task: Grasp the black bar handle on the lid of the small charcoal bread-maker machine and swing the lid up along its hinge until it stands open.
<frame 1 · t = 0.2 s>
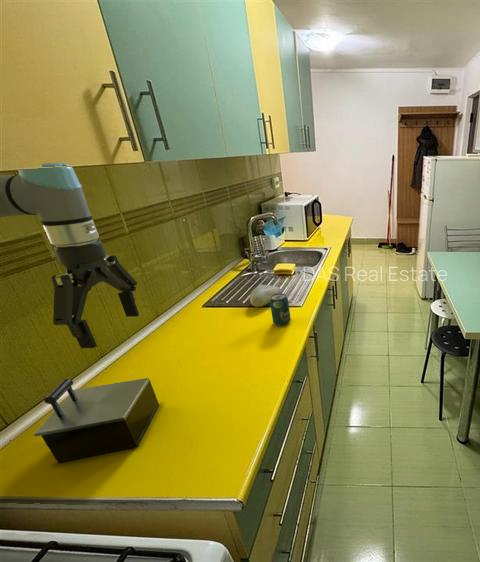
hand: (113, 330, 71), 26 cm above the counter, tool pointing down, fingers open, 13 cm apart
soda can: (282, 323, 124), on the counter
machine lid: (93, 394, 71), point 12 cm above the counter, hinge at 0.0°
rock: (264, 301, 143), on the counter
machine: (114, 431, 76), on the counter
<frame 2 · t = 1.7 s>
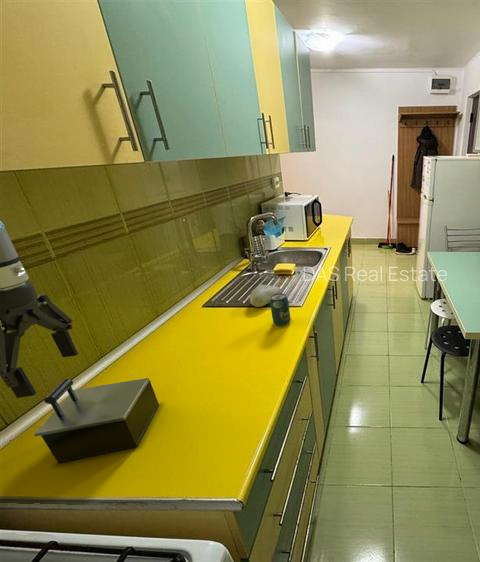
hand: (50, 373, 67), 20 cm above the counter, tool pointing down, fingers open, 13 cm apart
nothing on the counter moved.
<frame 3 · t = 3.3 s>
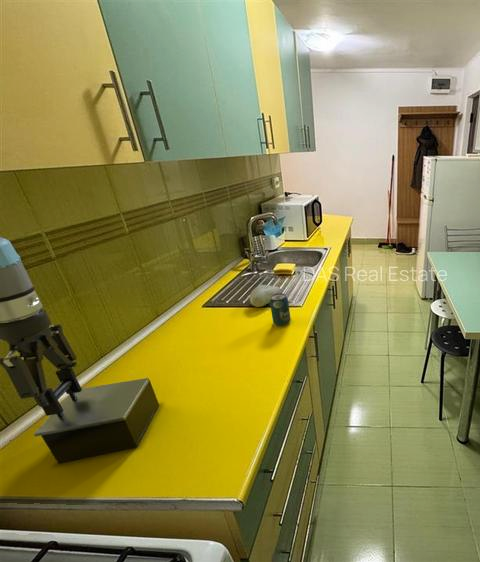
hand: (65, 402, 70), 11 cm above the counter, tool pointing down, fingers closed on machine lid, 6 cm apart
machine lid: (93, 394, 71), point 12 cm above the counter, hinge at 0.0°, touching gripper
everything else where it was.
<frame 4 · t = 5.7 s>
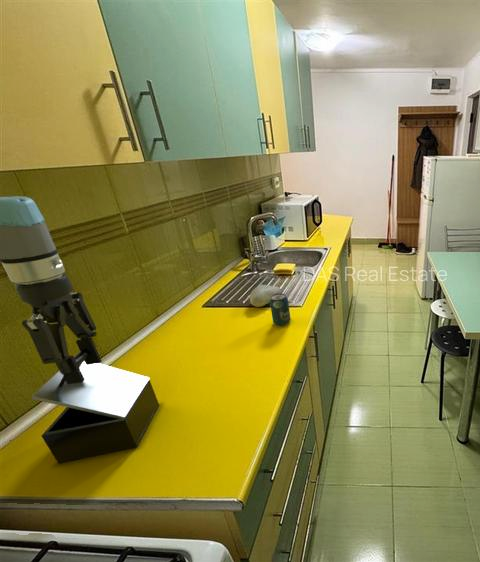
hand: (85, 371, 69), 19 cm above the counter, tool pointing down, fingers closed on machine lid, 6 cm apart
machine lid: (103, 377, 70), point 17 cm above the counter, hinge at 35.7°, touching gripper
everything else where it was.
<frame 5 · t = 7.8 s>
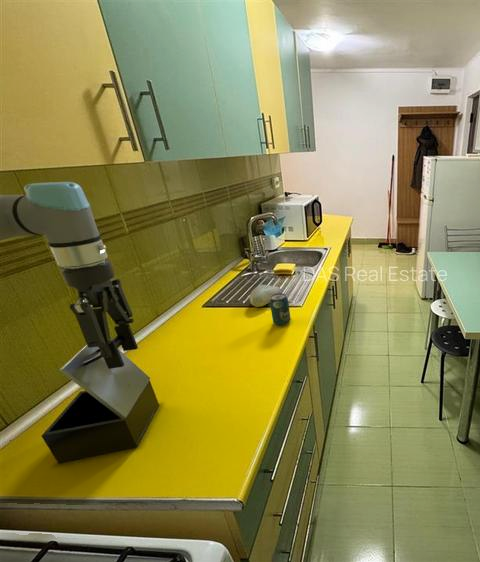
hand: (124, 357, 70), 21 cm above the counter, tool pointing down, fingers closed on machine lid, 6 cm apart
machine lid: (123, 368, 71), point 18 cm above the counter, hinge at 66.6°, touching gripper
everything else where it was.
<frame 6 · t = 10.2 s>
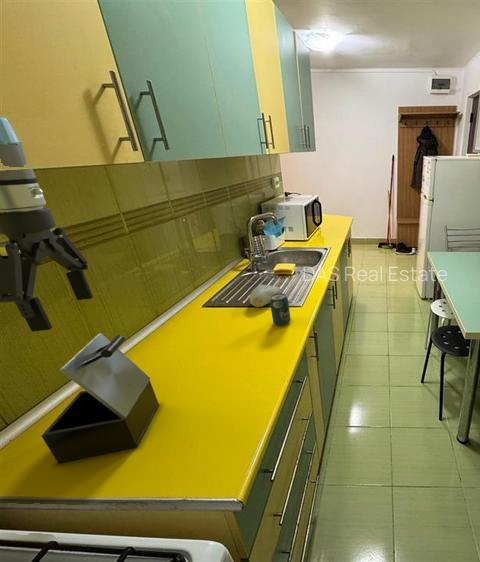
hand: (66, 312, 63), 34 cm above the counter, tool pointing down, fingers open, 13 cm apart
machine lid: (123, 368, 71), point 18 cm above the counter, hinge at 66.9°
everything else where it was.
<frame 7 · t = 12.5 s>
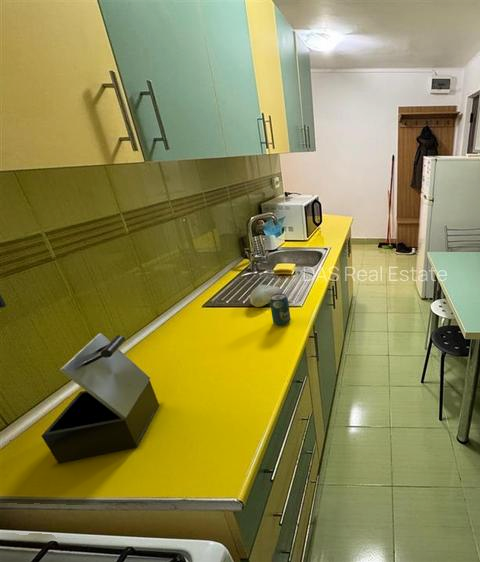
nothing on the counter moved.
at the end: machine lid at +67° (first picture: +0°) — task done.
